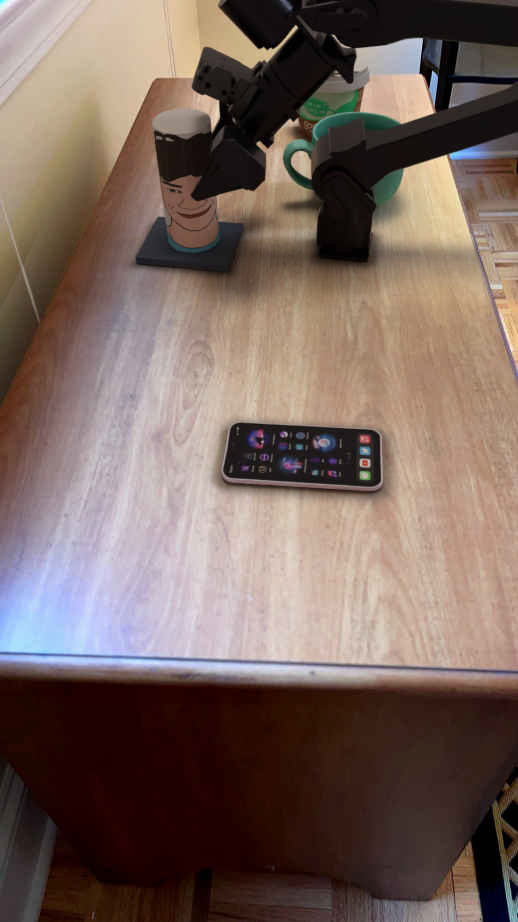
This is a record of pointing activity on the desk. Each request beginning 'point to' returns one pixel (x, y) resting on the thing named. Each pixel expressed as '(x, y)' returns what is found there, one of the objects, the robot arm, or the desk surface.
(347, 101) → the food container
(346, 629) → the desk surface
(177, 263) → the slate mat
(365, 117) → the mug
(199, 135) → the cup
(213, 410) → the desk surface
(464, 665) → the desk surface
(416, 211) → the desk surface
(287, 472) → the smartphone
